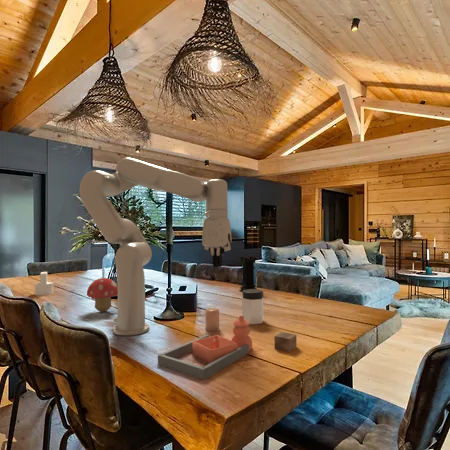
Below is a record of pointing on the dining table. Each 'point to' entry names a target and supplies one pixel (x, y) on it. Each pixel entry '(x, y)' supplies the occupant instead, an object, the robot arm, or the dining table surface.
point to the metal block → (285, 341)
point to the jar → (252, 306)
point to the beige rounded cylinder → (212, 319)
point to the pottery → (222, 343)
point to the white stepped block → (43, 285)
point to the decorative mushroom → (102, 293)
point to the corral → (193, 370)
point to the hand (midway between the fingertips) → (217, 266)
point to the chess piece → (248, 273)
